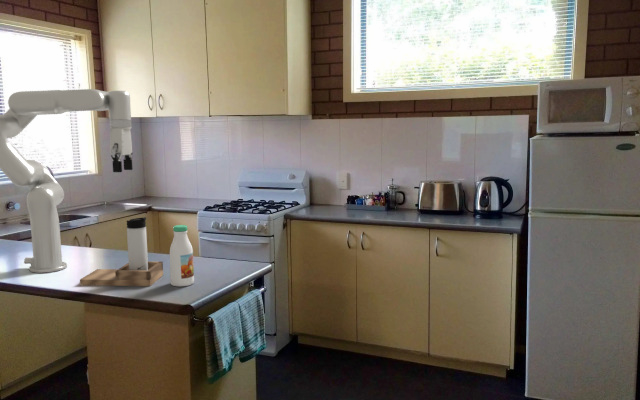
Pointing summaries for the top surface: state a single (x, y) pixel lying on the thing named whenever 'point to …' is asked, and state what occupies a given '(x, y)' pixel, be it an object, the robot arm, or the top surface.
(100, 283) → the open box
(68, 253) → the top surface
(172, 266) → the milk bottle
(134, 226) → the travel mug
